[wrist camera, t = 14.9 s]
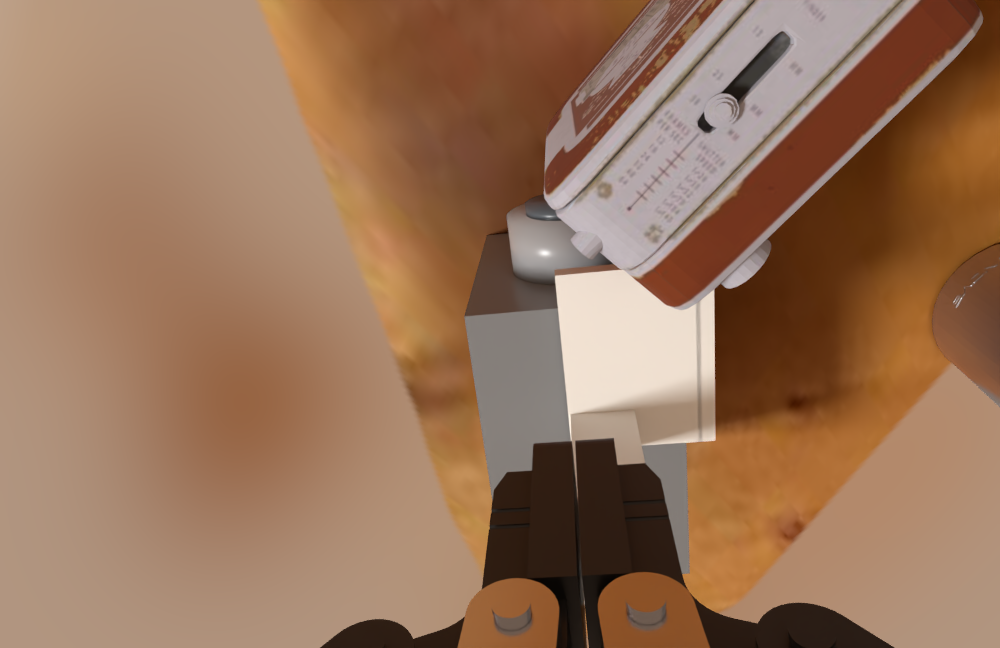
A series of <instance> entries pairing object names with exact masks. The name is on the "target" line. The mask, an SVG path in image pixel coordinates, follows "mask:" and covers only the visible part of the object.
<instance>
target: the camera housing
mask: <svg viewBox="0 0 1000 648" xmlns="http://www.w3.org/2000/svg"><path fill="white" fill-rule="evenodd" d="M507 224H508V232H509V233H506V234H496V235H487V237H486V241H485V244H484V248H483V252H482V255H481V259H480V262H479V266H478V270H477V273H476V277H475V280H474V284H473V288H472V291H471V295H470V298H469V302H468V306H467V309H466V313H465V316H464V317H465V323H466V330H467V337H468V343H469V350H470V356H471V363H472V369H473V376H474V382H475V389H476V395H477V402H478V409H479V415H480V422H481V428H482V435H483V441H484V448H485V454H486V461H487V468H488V474H489V481H490V487H491V494H492V500H493V493H494V489H495V488H496V486H497V485H498V484H499V482H500V481H501V480H502V478H503V477H504V476H505V474H506V473H507V472H516V471H532V458H533V444H534V443H547V442H562V441H571V437H570V427H569V416H568V406H567V396H566V386H565V376H564V365H563V355H562V345H561V335H560V325H559V314H558V304H557V294H556V284H555V270H557V269H567V268H578V267H589V266H600V265H610V264H613V263H612V262H611V261H610V260H608V259H607V258H606V257H605V256H604V255H603V254H601V253H600V252H599V253H598V254H597V255H596V256H595V257H594V258H593V259H589V258H588V257H586V256H585V255H583V254H582V253H581V252H580V251H579V250H578V249H577V248H576V247H575V246H574V245H573V244H572V242H571V238H572V237H573V236H574V235H575V234H576V232H575V231H574V230H573V229H572V228H571V227H569V226H568V225H567V224H566V223H565V222H563V221H562V220H561V219H560V218H559V217H557V214H556V210H554V209H552V208H551V207H550V206H549V204H548V203H547V201H546V200H545V198H544V194H543V195H540V196H536V197H534V198H531V199H529V200H528V201H526V203H525V204H522V205H520V206H518V207H515V208H514V209H512V210H511V211H509V212H508V214H507ZM642 450H643V455H644V460H645V463H646V464H647V466H648V467H649V468H650V469H651V470H652V471H653V472H654V473H655V474H656V475H657V476H658V477H659V478H660V479H661V483H662V487H663V492H664V496H665V502H666V505H667V509H668V514H669V519H670V523H671V527H672V532H673V536H674V540H675V545H676V549H677V554H678V558H679V563H680V567H681V571H682V574H687V573H690V570H689V532H688V493H687V455H686V443H673V444H658V445H643V446H642Z"/></svg>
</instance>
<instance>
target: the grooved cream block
mask: <svg viewBox="0 0 1000 648" xmlns="http://www.w3.org/2000/svg"><path fill="white" fill-rule="evenodd" d="M555 284H556V294H557V304H558V314H559V325H560V335H561V345H562V355H563V365H564V376H565V386H566V396H567V406H568V416H569V427H570V437H571V441H572V446H573V456H574V466H575V476H576V487H577V469H576V450H575V440H589V439H604V438H614V443H615V450H616V457H617V464H618V465H623V464H639V463H645V460H644V455H643V450H642V446H643V445H658V444H673V443H688V442H703V441H715V319H714V290H713V291H712V292H710V293H709V294H708V295H707V296H705V297H704V298H703V299H702V300H701V301H699V302H698V303H696V304H695V305H693V306H691V307H690V308H688V309H685V310H678V309H675V308H672V307H670V306H667V305H665V304H664V303H663V302H662V301H660V300H659V299H658V298H657V297H656V296H654V295H653V294H652V293H651V292H650V291H648V290H647V289H646V288H645V287H643V286H642V285H641V284H640V283H639V282H637V281H636V280H635V279H634V278H633V277H631V276H630V275H629V274H628V273H627V272H625V271H624V270H622V269H619V268H618V267H617V266H616V265H614V264H610V265H600V266H589V267H578V268H567V269H557V270H555ZM577 497H578V489H577ZM584 603H585V601H584Z"/></svg>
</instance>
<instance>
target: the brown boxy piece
mask: <svg viewBox="0 0 1000 648" xmlns="http://www.w3.org/2000/svg"><path fill="white" fill-rule="evenodd" d="M982 23H983V16H982V13H981V10H980V9H979V7H978V6H977V4H976V2H975V1H974V0H650V1H649V2H648V3H647V4H646V5H645V7H644V8H643V9H642V10H641V11H640V13H639V14H638V15H637V16H636V17H635V19H634V20H633V21H632V22H631V23H630V25H629V26H628V27H627V28H626V29H625V31H624V32H623V33H622V34H621V35H620V37H619V38H618V39H617V40H616V41H615V43H614V44H613V45H612V46H611V47H610V48H609V50H608V51H607V52H606V53H605V54H604V56H603V57H602V58H601V59H600V60H599V62H598V63H597V64H596V65H595V66H594V68H593V69H592V70H591V71H590V72H589V74H588V75H587V76H586V77H585V78H584V80H583V81H582V82H581V83H580V84H579V86H578V87H577V88H576V89H575V90H574V91H573V93H572V94H571V95H570V96H569V97H568V99H567V100H566V101H565V102H564V104H563V105H562V106H561V108H560V109H559V110H558V112H557V113H556V114H555V116H554V117H553V118H552V120H551V121H550V123H549V126H548V129H547V136H546V154H545V177H544V198H545V200H546V201H547V203H548V204H549V206H550V207H551V208H552V209H554V210H556V214H557V217H559V218H560V219H561V220H562V221H563V222H565V223H566V224H567V225H568V226H569V227H571V228H572V229H573V230H574V231H575V232H576V234H575V235H574V236H573V237H572V238H571V242H572V244H573V245H574V246H575V247H576V248H577V249H578V250H579V251H580V252H581V253H582V254H583V255H585V256H586V257H588V258H589V259H593V258H594V257H595V256H596V255H597V254H598V253H599V252H600V253H601V254H603V255H604V256H605V257H606V258H607V259H608V260H610V261H611V262H612V263H613V264H614V265H616V266H617V267H618V268H619V269H622V270H624V271H625V272H627V273H628V274H629V275H630V276H631V277H633V278H634V279H635V280H636V281H637V282H639V283H640V284H641V285H642V286H643V287H645V288H646V289H647V290H648V291H650V292H651V293H652V294H653V295H654V296H656V297H657V298H658V299H659V300H660V301H662V302H663V303H664V304H665V305H667V306H670V307H672V308H675V309H678V310H685V309H688V308H690V307H691V306H693V305H695V304H696V303H698V302H699V301H701V300H702V299H703V298H704V297H705V296H707V295H708V294H709V293H710V292H712V291H713V290H714V289H715V288H716V287H718V286H719V285H720V284H722V285H723V286H724V287H725V288H734V287H737V286H739V285H741V284H743V283H744V282H746V281H747V280H748V279H750V278H751V277H752V276H753V275H754V274H755V273H756V272H757V271H758V270H759V269H760V268H761V266H762V265H763V264H764V263H765V261H766V259H767V258H768V256H769V254H770V251H771V243H770V241H769V240H768V238H769V237H770V236H771V235H772V234H773V233H774V232H775V231H776V230H777V229H778V228H779V227H780V226H781V225H782V224H783V223H784V222H785V221H786V220H787V219H788V218H789V217H790V216H792V215H793V214H794V213H795V212H796V211H797V210H798V209H799V208H800V207H801V206H802V205H803V204H804V203H805V202H806V201H807V200H808V199H809V198H810V197H811V196H812V195H813V194H814V193H815V192H817V191H818V190H819V189H820V188H821V187H822V186H823V185H824V184H825V183H826V182H827V181H828V180H829V179H830V178H831V177H832V176H833V175H834V174H835V173H836V172H837V171H838V170H839V169H840V168H842V167H843V166H844V165H845V164H846V163H847V162H848V161H849V160H850V159H851V158H852V157H853V156H854V155H855V154H856V153H857V152H858V151H859V150H860V149H861V148H862V147H863V146H864V145H866V144H867V143H868V142H869V141H870V140H871V139H872V138H873V137H874V136H875V135H876V134H877V133H878V132H879V131H880V130H881V129H882V128H883V127H884V126H885V125H886V124H887V123H888V122H889V121H891V120H892V119H893V118H894V117H895V116H896V115H897V114H898V113H899V112H900V111H901V110H902V109H903V108H904V107H905V106H906V105H907V104H908V103H909V102H910V101H911V100H912V99H913V98H914V97H916V96H917V95H918V94H919V93H920V92H921V91H922V90H923V89H924V88H925V87H926V86H927V85H928V84H929V83H930V82H931V81H932V80H933V79H934V78H935V77H936V76H937V75H938V74H939V73H941V72H942V71H943V70H944V69H945V68H946V67H947V66H948V65H949V64H950V63H951V62H952V61H953V60H954V59H955V58H956V57H957V56H958V55H959V53H960V52H961V51H962V50H963V49H964V48H965V47H966V45H967V44H968V43H969V42H970V41H971V40H972V39H973V37H974V36H975V35H976V33H977V31H978V30H979V28H980V26H981V25H982Z"/></svg>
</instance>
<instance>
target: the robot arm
mask: <svg viewBox="0 0 1000 648" xmlns="http://www.w3.org/2000/svg"><path fill="white" fill-rule="evenodd" d="M932 325H933V334H934V337H935V340H936V343H937V346H938V347H939V349H940V350H941V352H942V353H943V354H944V356H945V357H946V358H947V359H948V360H949V361H950V362H952V363H953V364H954V365H955V366H956V367H957V368H958V369H959V370H960V371H961V372H963V373H964V374H965V375H966V376H967V377H968V378H969V379H970V380H971V381H972V382H973V383H975V384H976V385H977V386H978V387H979V388H980V389H981V390H982V391H983V392H984V393H985V394H986V395H987V396H988V397H989V398H990V399H992V400H993V401H994V402H995V403H996V404H997V405H998V406H999V407H1000V244H997V245H994V246H991V247H989V248H987V249H986V250H984V251H982V252H980V253H978V254H976V255H974V256H973V257H972V258H970V259H969V260H968V261H966V262H965V263H964V264H962V265H961V266H960V267H959V268H958V269H957V270H956V271H955V272H954V273H953V275H952V276H951V277H950V278H949V279H948V281H947V282H946V284H945V285H944V287H943V288H942V290H941V291H940V294H939V296H938V298H937V301H936V303H935V306H934V312H933V318H932ZM575 450H576V469H577V487H576V476H575V466H574V456H573V446H572V441H562V442H547V443H534V444H533V458H532V471H516V472H507V473H506V474H505V476H504V477H503V478H502V480H501V481H500V482H499V484H498V485H497V486H496V488H495V489H494V493H493V501H492V513H491V518H490V530H489V535H488V543H487V551H486V560H485V568H484V577H483V585H482V590H481V591H479V592H478V593H477V594H476V595H475V596H474V598H473V599H472V600H471V602H470V603H469V605H468V608H467V611H466V615H465V617H464V618H463V619H461V620H460V621H458V622H457V623H455V624H453V625H452V626H450V627H448V628H445V629H442V630H440V631H437V632H434V633H431V634H427V635H424V636H421V637H418V638H415V639H413V638H412V636H411V634H410V633H409V631H408V630H407V629H406V628H405V627H403V626H402V625H400V624H398V623H396V622H393V621H390V620H384V619H375V620H367V621H364V622H359V623H357V624H354V625H352V626H350V627H348V628H346V629H344V630H343V631H341V632H340V633H338V634H337V635H336V636H334V637H333V638H332V639H331V640H329V641H328V642H327V643H326V644H324V645H323V646H322V647H321V648H587V642H586V622H585V611H586V621H587V631H588V641H589V648H894V647H892V646H891V645H889V644H888V643H886V642H884V641H883V640H881V639H880V638H878V637H876V636H875V635H873V634H871V633H870V632H868V631H867V630H865V629H863V628H862V627H860V626H859V625H857V624H855V623H854V622H852V621H851V620H849V619H847V618H846V617H844V616H842V615H841V614H839V613H837V612H835V611H833V610H830V609H828V608H825V607H821V606H818V605H814V604H808V603H789V604H784V605H780V606H778V607H775V608H773V609H771V610H770V611H768V612H767V613H766V614H765V615H763V616H762V618H761V619H760V621H759V622H758V624H757V623H752V622H748V621H743V620H738V619H734V618H730V617H726V616H723V615H721V614H718V613H716V612H714V611H712V610H710V609H708V608H706V607H705V606H704V605H702V604H701V603H699V602H698V601H697V600H696V599H695V598H694V597H693V596H692V595H691V593H690V592H689V591H688V589H687V587H686V585H685V583H684V580H683V576H682V571H681V567H680V563H679V558H678V554H677V549H676V545H675V540H674V536H673V532H672V527H671V523H670V519H669V514H668V509H667V505H666V502H665V496H664V492H663V487H662V483H661V479H660V478H659V477H658V476H657V475H656V474H655V473H654V472H653V471H652V470H651V469H650V468H649V467H648V466H647V464H646V463H639V464H623V465H618V464H617V457H616V450H615V443H614V438H604V439H589V440H575ZM577 489H578V497H577ZM584 601H585V603H584Z"/></svg>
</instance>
